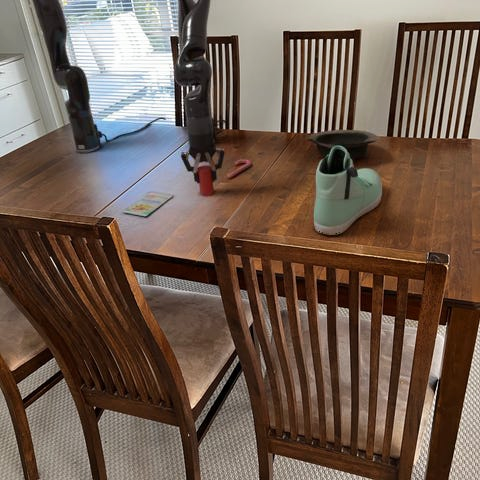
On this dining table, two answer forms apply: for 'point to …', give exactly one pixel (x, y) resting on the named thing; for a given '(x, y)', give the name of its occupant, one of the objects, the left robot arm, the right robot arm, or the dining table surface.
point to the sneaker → (343, 192)
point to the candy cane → (240, 167)
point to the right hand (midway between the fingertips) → (205, 181)
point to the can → (205, 180)
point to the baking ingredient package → (147, 204)
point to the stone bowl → (343, 141)
